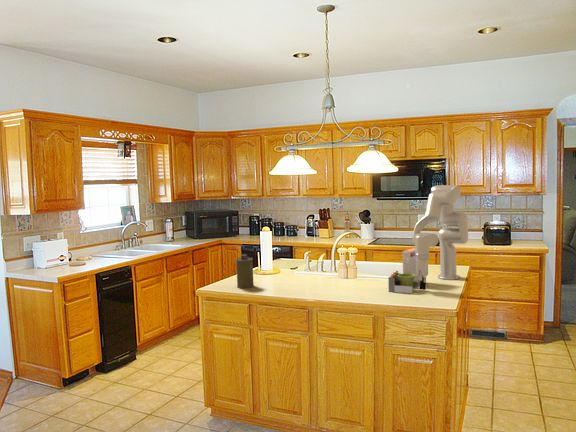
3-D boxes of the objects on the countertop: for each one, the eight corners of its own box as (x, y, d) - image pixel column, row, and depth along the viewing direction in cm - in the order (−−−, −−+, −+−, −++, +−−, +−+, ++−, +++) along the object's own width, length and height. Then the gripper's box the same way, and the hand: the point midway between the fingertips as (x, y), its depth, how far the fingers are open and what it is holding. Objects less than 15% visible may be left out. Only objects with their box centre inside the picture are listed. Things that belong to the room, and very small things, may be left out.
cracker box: (413, 281, 291) (413, 247, 289) (422, 282, 287) (422, 248, 285) (402, 285, 281) (401, 250, 279) (411, 286, 277) (411, 251, 275)
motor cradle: (395, 286, 279) (395, 269, 279) (418, 287, 273) (418, 270, 272) (388, 291, 266) (388, 274, 265) (412, 293, 260) (412, 276, 259)
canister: (250, 288, 286) (249, 256, 285) (234, 288, 289) (233, 256, 287) (256, 284, 297) (254, 253, 295) (240, 284, 299) (239, 253, 298)
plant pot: (411, 292, 262) (411, 277, 262) (395, 291, 268) (395, 276, 267) (417, 289, 270) (417, 274, 270) (401, 287, 275) (401, 272, 275)
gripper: (418, 254, 271) (419, 285, 273) (412, 258, 258) (412, 291, 260) (432, 255, 268) (432, 286, 269) (426, 259, 255) (426, 292, 256)
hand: (422, 289), depth 264 cm, fingers closed
